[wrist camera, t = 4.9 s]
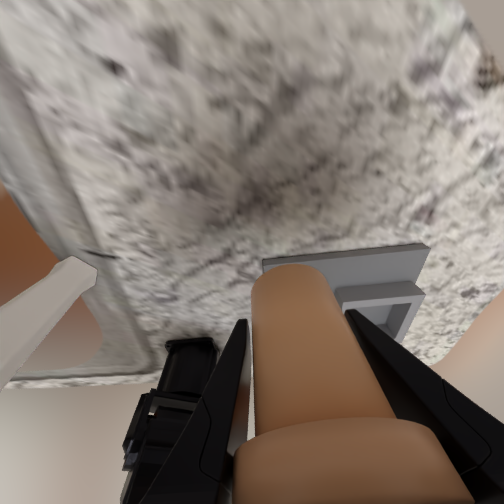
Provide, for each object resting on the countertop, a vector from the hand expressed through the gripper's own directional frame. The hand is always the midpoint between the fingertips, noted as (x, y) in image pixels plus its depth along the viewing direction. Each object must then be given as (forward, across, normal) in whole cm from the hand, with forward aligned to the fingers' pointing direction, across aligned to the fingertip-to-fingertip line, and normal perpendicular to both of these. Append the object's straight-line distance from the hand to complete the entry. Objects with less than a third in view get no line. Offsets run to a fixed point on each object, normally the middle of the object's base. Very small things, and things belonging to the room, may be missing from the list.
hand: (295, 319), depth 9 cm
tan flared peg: (+2, 0, 0) cm, 2 cm away
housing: (+11, -7, +11) cm, 17 cm away
